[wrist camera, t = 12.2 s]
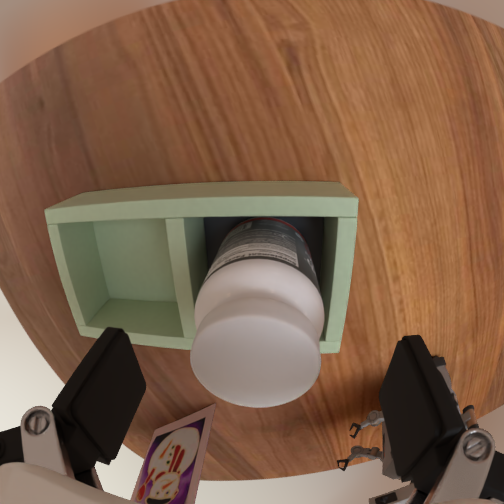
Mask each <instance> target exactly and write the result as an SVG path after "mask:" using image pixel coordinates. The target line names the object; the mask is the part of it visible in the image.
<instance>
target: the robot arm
mask: <svg viewBox="0 0 504 504" xmlns="http://www.w3.org/2000/svg"><path fill="white" fill-rule="evenodd" d="M145 390H146V382H145V379H144V377H143V374H142V372H141V369H140V366H139V364H138V361H137V358H136V356H135V353H134V350H133V347H132V344H131V341H130V338H129V336H128V334H127V333H125V331H124V330H123V329H122V328H115V327H107V328H106V329H105V330H104V331H103V333H102V334H101V335H100V337H99V338H98V339H97V341H96V342H95V343H94V345H93V346H92V348H91V349H90V350H89V352H88V353H87V355H86V356H85V357H84V359H83V360H82V362H81V363H80V364H79V366H78V367H77V369H76V370H75V372H74V373H73V374H72V376H71V377H70V379H69V380H68V382H67V383H66V385H65V386H64V388H63V389H62V391H61V392H60V394H59V395H58V397H57V398H56V400H55V401H54V403H53V404H52V407H53V409H52V410H51V411H50V409H48V408H47V407H43V406H35V407H33V408H31V409H29V410H28V411H27V412H26V413H25V414H24V415H23V417H22V420H21V426H18V427H15V428H12V429H9V430H6V431H2V432H0V504H140V503H137V502H133V501H130V500H127V499H124V498H121V497H118V496H115V495H112V494H110V493H107V492H104V490H103V488H102V485H101V483H100V480H99V478H98V475H97V472H96V469H95V467H94V466H95V464H96V461H99V462H101V463H104V464H107V465H109V464H110V462H111V460H114V459H115V458H116V456H117V454H118V452H119V449H120V447H121V445H122V442H123V440H124V438H125V435H126V433H127V431H128V429H129V426H130V424H131V422H132V419H133V417H134V415H135V413H136V410H137V408H138V406H139V404H140V402H141V399H142V397H143V395H144V393H145ZM379 401H380V405H381V409H382V413H383V417H384V421H385V425H386V429H387V434H388V438H389V442H390V447H391V452H392V456H393V461H394V466H395V471H396V474H397V476H401V481H402V482H406V481H410V480H413V483H414V487H415V489H414V490H413V492H412V493H411V495H410V497H409V498H408V500H407V501H406V503H405V504H504V454H502V453H500V452H497V451H495V442H494V439H493V437H492V436H491V434H490V433H489V432H487V431H486V430H484V429H480V428H471V429H469V430H466V427H465V425H464V422H463V420H462V418H461V415H460V413H459V411H458V408H457V406H456V404H455V401H454V399H453V397H452V395H451V392H450V390H449V388H448V386H447V384H446V382H445V380H444V377H443V375H442V373H441V372H440V371H439V370H438V369H437V367H436V365H435V363H434V361H433V359H432V357H431V355H430V353H429V351H428V349H427V347H426V345H425V343H424V341H423V339H422V337H421V336H420V335H411V336H404V337H403V338H402V340H401V341H398V343H397V345H396V348H395V351H394V354H393V357H392V360H391V363H390V365H389V368H388V371H387V373H386V376H385V379H384V381H383V384H382V386H381V389H380V392H379Z"/></svg>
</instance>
